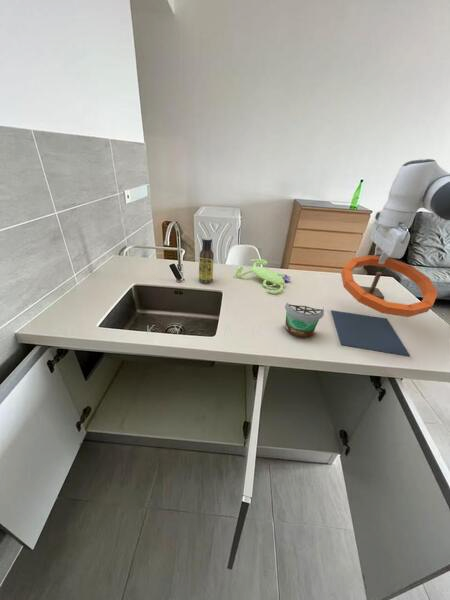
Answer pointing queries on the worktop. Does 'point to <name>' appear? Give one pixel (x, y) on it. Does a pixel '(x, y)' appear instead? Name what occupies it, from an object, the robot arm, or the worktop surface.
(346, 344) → the mat
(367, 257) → the ring
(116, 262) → the worktop surface
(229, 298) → the worktop surface
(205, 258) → the sauce bottle
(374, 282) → the post
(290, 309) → the food container
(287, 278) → the figurine
